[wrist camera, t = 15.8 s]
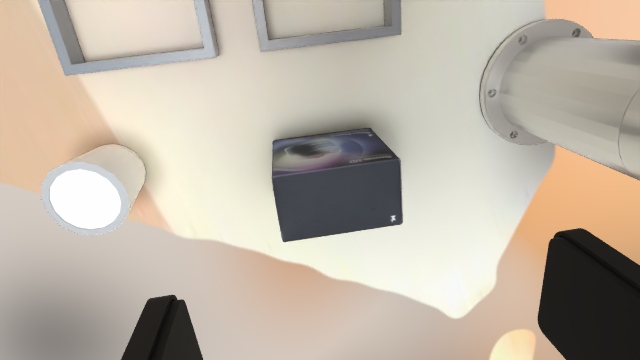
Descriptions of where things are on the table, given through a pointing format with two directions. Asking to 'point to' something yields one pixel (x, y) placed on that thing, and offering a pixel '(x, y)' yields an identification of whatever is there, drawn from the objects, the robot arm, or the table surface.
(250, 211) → the table surface
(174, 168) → the table surface
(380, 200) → the small box
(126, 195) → the white cup
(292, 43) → the right bin
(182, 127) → the table surface
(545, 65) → the robot arm
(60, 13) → the left bin
